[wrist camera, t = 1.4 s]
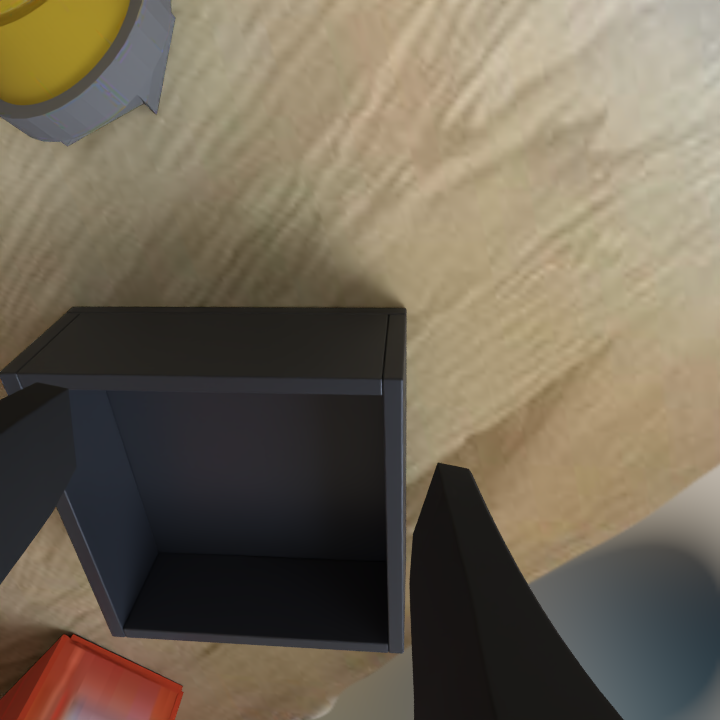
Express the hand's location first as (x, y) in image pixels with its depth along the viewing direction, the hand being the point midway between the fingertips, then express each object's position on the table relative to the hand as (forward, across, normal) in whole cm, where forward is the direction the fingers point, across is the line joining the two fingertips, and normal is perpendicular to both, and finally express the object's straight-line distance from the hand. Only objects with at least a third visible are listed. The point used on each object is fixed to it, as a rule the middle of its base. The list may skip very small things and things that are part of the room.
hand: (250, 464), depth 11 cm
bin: (+10, +1, +9) cm, 13 cm away
